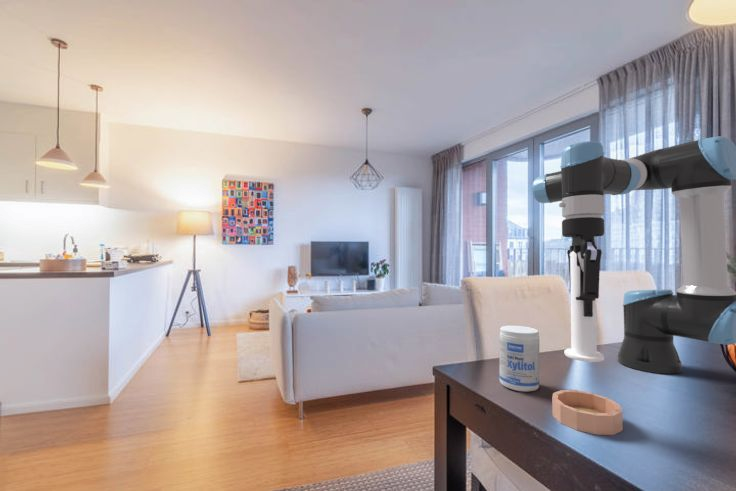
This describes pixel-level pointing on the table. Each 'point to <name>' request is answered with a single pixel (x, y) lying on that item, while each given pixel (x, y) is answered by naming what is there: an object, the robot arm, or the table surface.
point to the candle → (581, 320)
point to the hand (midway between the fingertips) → (584, 330)
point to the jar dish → (587, 412)
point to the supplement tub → (519, 358)
